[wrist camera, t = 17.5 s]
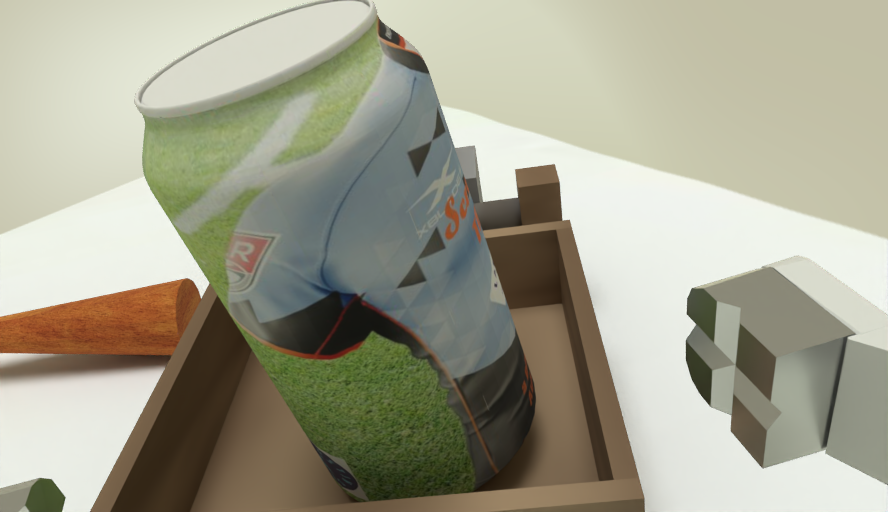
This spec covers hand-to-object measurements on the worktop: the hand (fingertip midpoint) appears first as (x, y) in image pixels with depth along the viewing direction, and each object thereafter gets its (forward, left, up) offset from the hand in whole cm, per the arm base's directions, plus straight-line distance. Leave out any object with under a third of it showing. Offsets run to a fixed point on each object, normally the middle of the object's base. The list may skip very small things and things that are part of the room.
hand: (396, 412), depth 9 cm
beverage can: (-2, +7, -9) cm, 12 cm away
